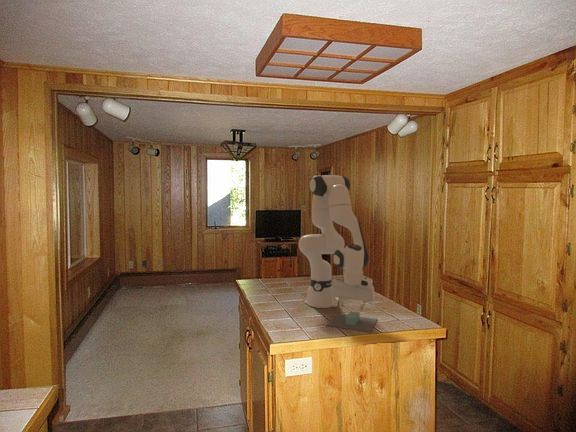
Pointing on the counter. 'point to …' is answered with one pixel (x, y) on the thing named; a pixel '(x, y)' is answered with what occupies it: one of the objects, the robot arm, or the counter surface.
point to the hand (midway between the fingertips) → (352, 307)
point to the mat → (361, 325)
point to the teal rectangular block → (352, 318)
